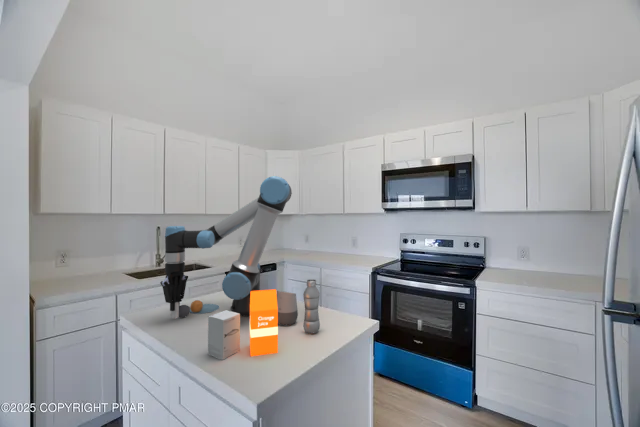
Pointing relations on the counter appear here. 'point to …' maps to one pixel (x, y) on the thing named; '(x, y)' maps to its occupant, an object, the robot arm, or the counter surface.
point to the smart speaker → (287, 308)
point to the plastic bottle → (311, 307)
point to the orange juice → (263, 322)
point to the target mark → (207, 308)
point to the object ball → (196, 306)
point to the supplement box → (223, 334)
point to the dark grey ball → (184, 311)
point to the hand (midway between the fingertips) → (174, 317)
